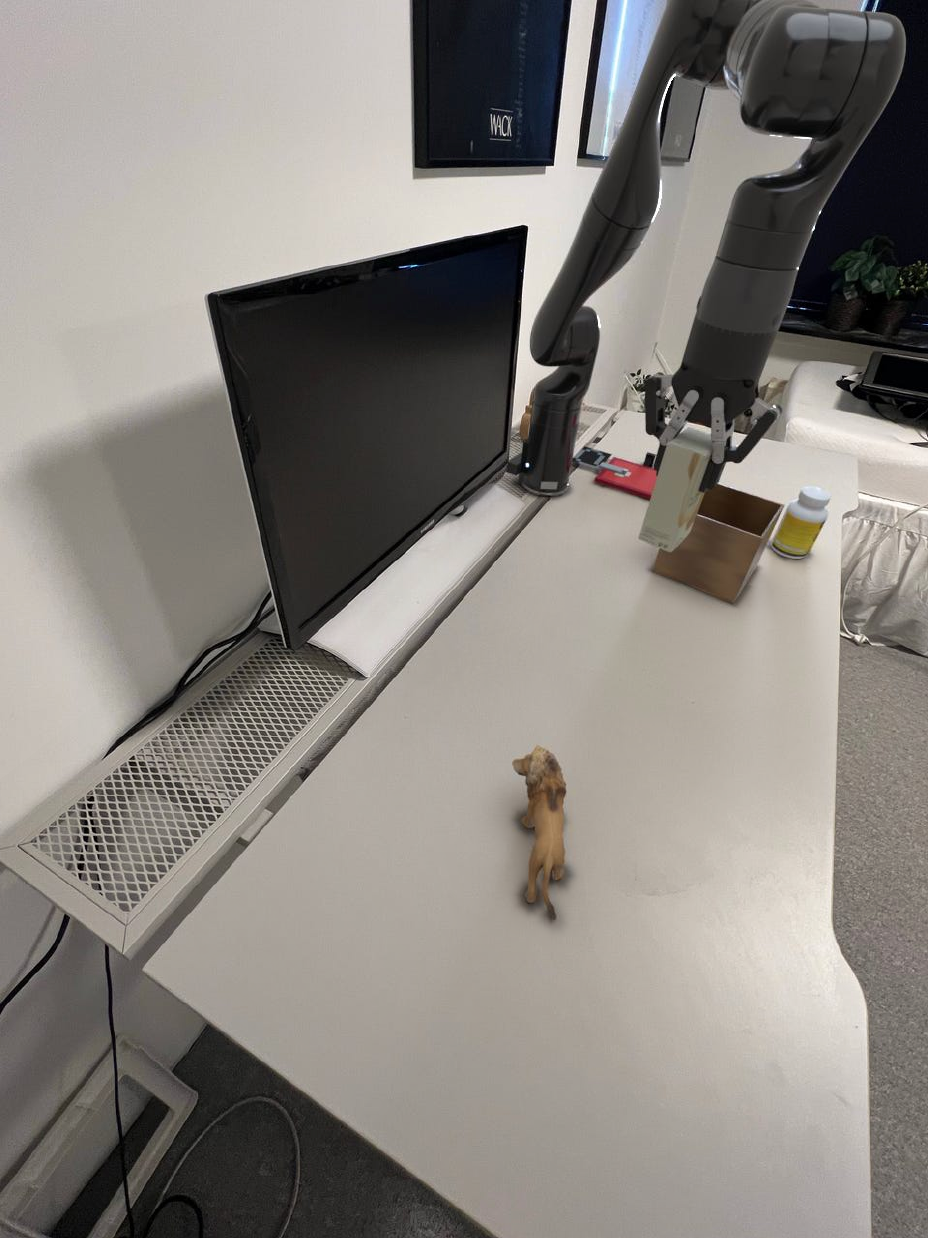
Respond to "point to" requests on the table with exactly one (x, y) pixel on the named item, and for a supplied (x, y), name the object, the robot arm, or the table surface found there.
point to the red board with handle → (620, 471)
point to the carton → (722, 542)
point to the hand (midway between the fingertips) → (682, 481)
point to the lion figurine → (544, 819)
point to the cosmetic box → (677, 490)
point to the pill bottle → (801, 523)
